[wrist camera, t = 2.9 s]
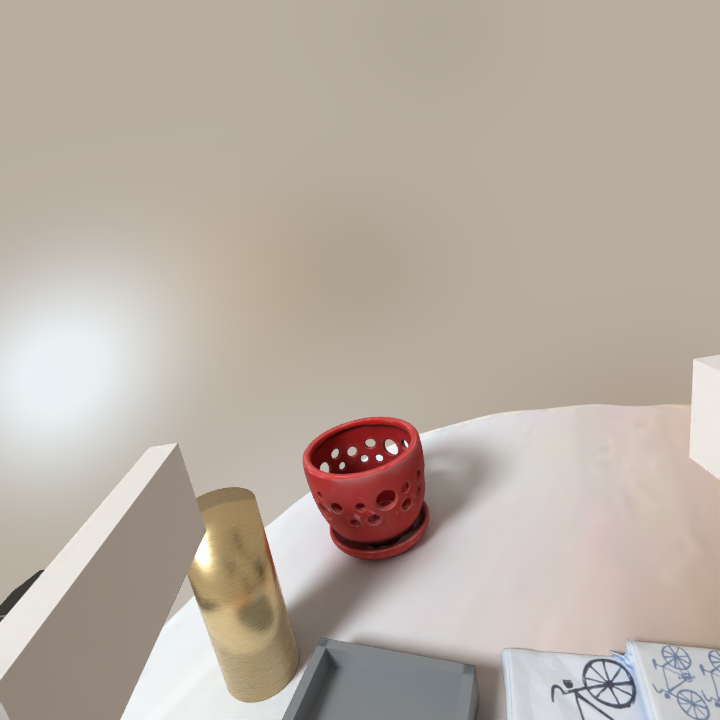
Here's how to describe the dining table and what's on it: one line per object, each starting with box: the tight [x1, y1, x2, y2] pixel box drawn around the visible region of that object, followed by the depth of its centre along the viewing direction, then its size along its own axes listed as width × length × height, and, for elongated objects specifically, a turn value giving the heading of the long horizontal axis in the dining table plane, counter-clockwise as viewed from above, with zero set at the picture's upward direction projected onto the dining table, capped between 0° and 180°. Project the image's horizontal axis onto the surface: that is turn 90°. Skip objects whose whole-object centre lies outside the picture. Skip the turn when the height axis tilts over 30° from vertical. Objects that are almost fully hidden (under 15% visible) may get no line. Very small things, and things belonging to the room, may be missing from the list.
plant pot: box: [303, 417, 429, 559], centre depth 54 cm, size 13×13×12 cm
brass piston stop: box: [187, 487, 299, 702], centre depth 39 cm, size 6×6×16 cm
